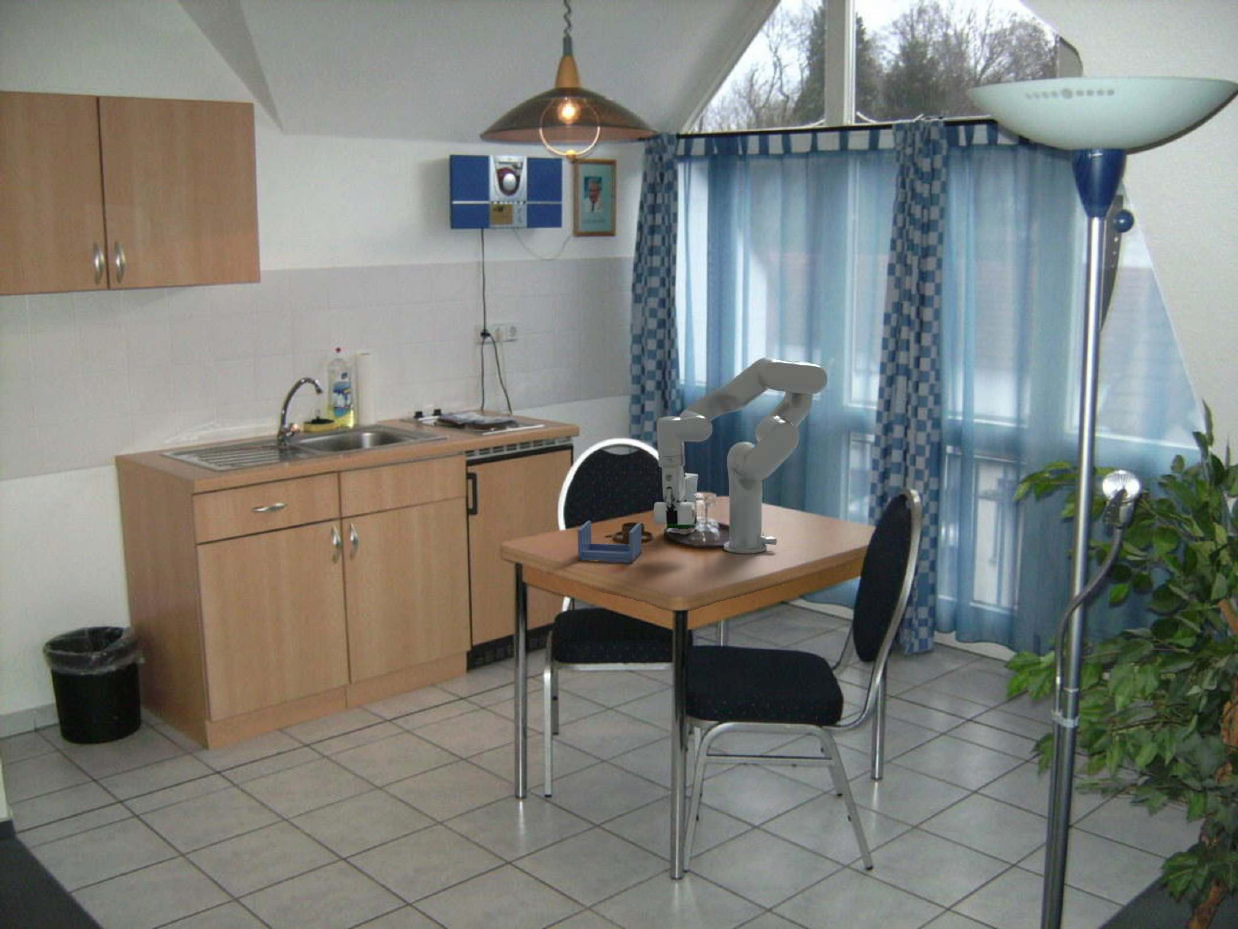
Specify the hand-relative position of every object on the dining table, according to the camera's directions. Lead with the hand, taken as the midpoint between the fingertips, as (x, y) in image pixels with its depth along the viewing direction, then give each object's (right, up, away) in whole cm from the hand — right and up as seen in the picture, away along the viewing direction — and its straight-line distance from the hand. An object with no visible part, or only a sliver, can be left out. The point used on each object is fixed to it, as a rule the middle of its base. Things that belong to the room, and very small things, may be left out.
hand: (674, 520), depth 366 cm
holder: (-19, -10, +1) cm, 21 cm away
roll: (0, -1, 0) cm, 1 cm away
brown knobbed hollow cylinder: (-14, -8, +18) cm, 24 cm away
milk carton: (+4, -5, +29) cm, 30 cm away
